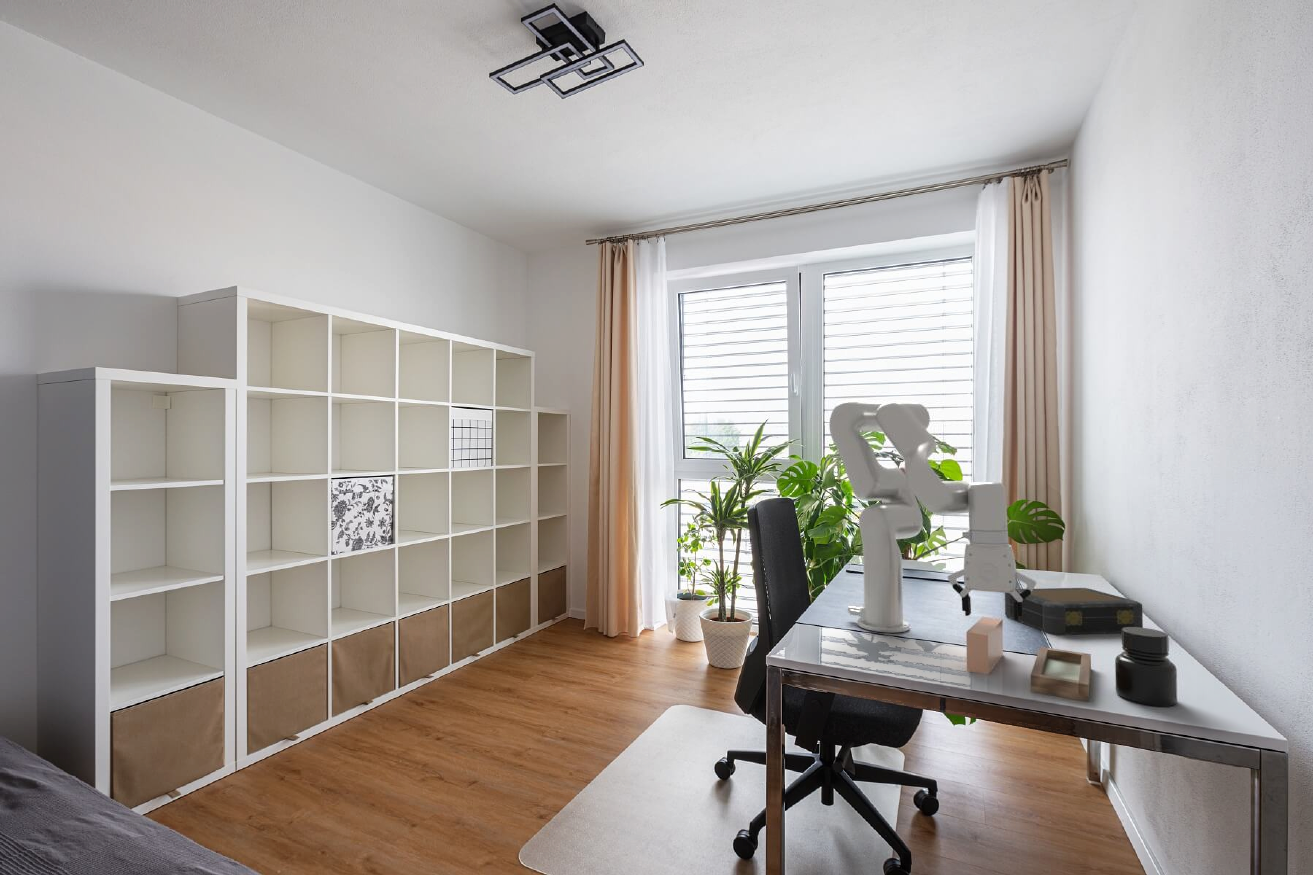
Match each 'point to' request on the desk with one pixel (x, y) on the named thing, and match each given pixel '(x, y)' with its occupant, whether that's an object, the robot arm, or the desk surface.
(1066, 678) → the tray
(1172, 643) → the desk surface
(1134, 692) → the ink bottle
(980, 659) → the pink rectangular block
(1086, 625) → the cash box
